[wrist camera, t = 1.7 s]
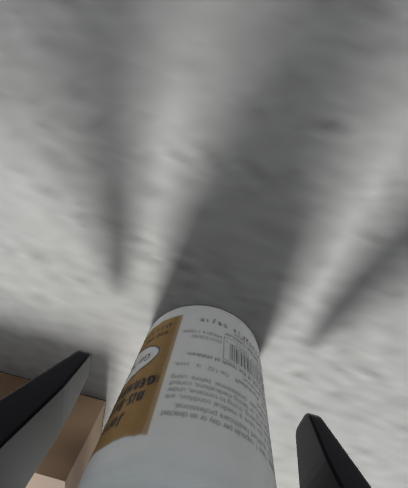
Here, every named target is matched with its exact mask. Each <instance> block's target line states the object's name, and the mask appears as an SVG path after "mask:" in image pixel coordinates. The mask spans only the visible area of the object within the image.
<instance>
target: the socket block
mask: <svg viewBox="0 0 408 488" xmlns="http://www.w3.org/2000/svg"><path fill="white" fill-rule="evenodd" d="M29 381H31V380H27V379H23V378H20V377H16V376H13V375H9V374H6V373H2V372H0V400H1V399H2V398H4V397H6V396H7V395H9V394H10V393H12V392H13V391H15V390H17V389H18V388H20V387H21V386H23V385H25V384H26V383H28V382H29ZM105 403H106V401H102V400H99V399H95V398H91V397H88V396H84V395H81V394H80V395H79V397H78V399H77V401H76V403H75V405H74V407H73V409H72V411H71V413H70V415H69V417H68V419H67V421H66V422H65V424H64V426H63V428H62V430H61V432H60V433H59V435H58V437H57V438H56V440H55V441H54V443H53V445H52V446H51V448H50V449H49V451H48V452H47V454H46V456H45V457H44V459H43V460H42V462H41V464H40V465H39V467H38V468H37V470H36V472H35V473H34V475H33V476H32V478H31V480H30V481H29V483H28V484H27V486H26V487H25V488H78V485H79V483H80V480H81V478H82V476H83V473H84V471H85V469H86V467H87V465H88V463H89V460H90V458H91V455H92V453H93V451H94V449H95V447H96V445H97V443H98V441H99V439H100V437H101V431H102V424H103V417H104V410H105Z"/></svg>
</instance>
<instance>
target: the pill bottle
mask: <svg viewBox="0 0 408 488" xmlns="http://www.w3.org/2000/svg"><path fill="white" fill-rule="evenodd" d="M78 488H277V487H276V480H275V472H274V464H273V457H272V449H271V441H270V433H269V425H268V417H267V409H266V401H265V393H264V385H263V376H262V368H261V361H260V354H259V348H258V345H257V342H256V339H255V337H254V335H253V334H252V332H251V331H250V329H249V328H248V327H247V326H246V325H245V324H244V323H243V322H242V321H241V320H240V319H238V318H237V317H236V316H234V315H232V314H230V313H229V312H226V311H224V310H221V309H218V308H215V307H210V306H201V305H195V306H185V307H180V308H177V309H174V310H172V311H170V312H168V313H166V314H164V315H163V316H161V317H160V318H159V319H158V320H157V321H156V322H155V323H154V324H153V326H152V327H151V329H150V331H149V332H148V334H147V337H146V339H145V341H144V343H143V346H142V348H141V350H140V352H139V354H138V356H137V359H136V361H135V363H134V365H133V368H132V370H131V372H130V374H129V376H128V378H127V380H126V383H125V385H124V387H123V389H122V391H121V393H120V396H119V397H118V400H117V402H116V404H115V406H114V408H113V410H112V413H111V415H110V417H109V419H108V422H107V424H106V426H105V428H104V430H103V432H102V434H101V437H100V439H99V441H98V443H97V445H96V447H95V449H94V451H93V453H92V455H91V458H90V460H89V463H88V465H87V467H86V469H85V471H84V473H83V476H82V478H81V480H80V483H79V485H78Z"/></svg>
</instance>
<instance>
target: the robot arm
mask: <svg viewBox="0 0 408 488" xmlns="http://www.w3.org/2000/svg"><path fill="white" fill-rule="evenodd" d="M91 360H92V355H91V353H89V352H85V351H81V350H80V351H77V352H75V353H74V354H72V355H71V356H69V357H68V358H66V359H64V360H63V361H61V362H60V363H58V364H56V365H55V366H53V367H52V368H50V369H48V370H47V371H45V372H44V373H42V374H41V375H39V376H37V377H36V378H34V379H33V380H31V381H29V382H28V383H26V384H25V385H23V386H21V387H20V388H18V389H17V390H15V391H13V392H12V393H10V394H9V395H7V396H6V397H4V398H2V399H1V400H0V488H25V487H26V486H27V484H28V483H29V481H30V480H31V478H32V476H33V475H34V473H35V472H36V470H37V468H38V467H39V465H40V464H41V462H42V460H43V459H44V457H45V456H46V454H47V452H48V451H49V449H50V448H51V446H52V445H53V443H54V441H55V440H56V438H57V437H58V435H59V433H60V432H61V430H62V428H63V426H64V424H65V422H66V421H67V419H68V417H69V415H70V413H71V411H72V409H73V407H74V405H75V403H76V401H77V399H78V397H79V395H80V393H81V391H82V389H83V387H84V385H85V383H86V381H87V379H88V377H89V374H90V370H91ZM296 444H297V458H298V471H299V484H300V488H371V486H370V485H369V484H368V482H367V481H366V479H365V478H364V477H363V475H362V474H361V472H360V471H359V470H358V468H357V467H356V466H355V464H354V463H353V461H352V460H351V459H350V457H349V456H348V454H347V453H346V452H345V450H344V449H343V448H342V446H341V445H340V443H339V442H338V441H337V439H336V438H335V436H334V435H333V434H332V432H331V431H330V429H329V428H328V427H327V425H326V424H325V423H324V421H323V420H322V419H321V418H320V417H319V416H317V415H313V414H310V413H307V414H305V416H304V417H303V419H302V421H301V422H300V424H299V426H298V428H297V430H296Z"/></svg>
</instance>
